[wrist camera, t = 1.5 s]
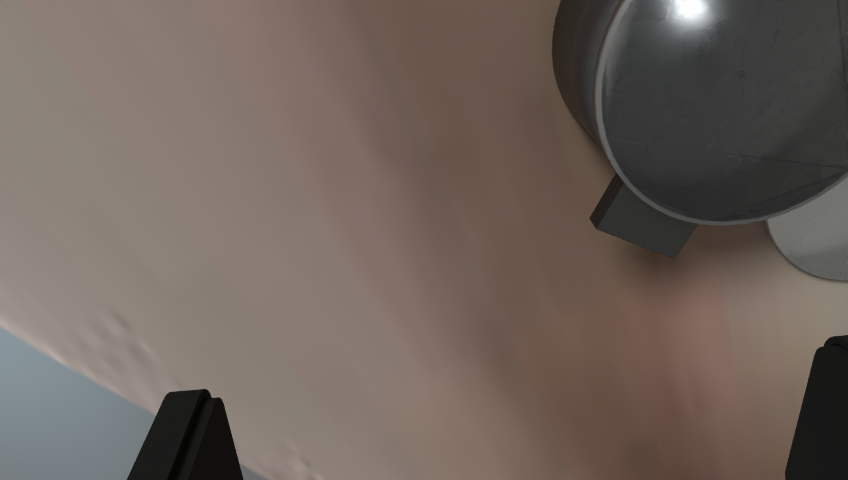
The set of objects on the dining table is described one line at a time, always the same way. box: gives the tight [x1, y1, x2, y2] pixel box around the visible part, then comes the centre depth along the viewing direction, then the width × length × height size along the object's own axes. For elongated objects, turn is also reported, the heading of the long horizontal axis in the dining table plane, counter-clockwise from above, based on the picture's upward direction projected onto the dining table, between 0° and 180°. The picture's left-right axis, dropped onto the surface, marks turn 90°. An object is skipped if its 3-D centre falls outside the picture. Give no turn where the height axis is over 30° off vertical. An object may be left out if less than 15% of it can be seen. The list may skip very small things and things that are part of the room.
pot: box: [552, 0, 848, 259], centre depth 31 cm, size 18×13×9 cm
